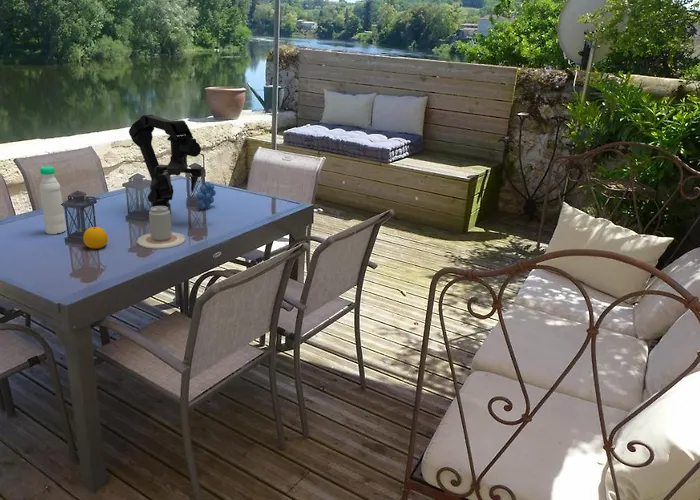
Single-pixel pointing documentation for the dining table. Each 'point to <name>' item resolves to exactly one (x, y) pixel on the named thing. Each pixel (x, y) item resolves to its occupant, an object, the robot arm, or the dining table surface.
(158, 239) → the can
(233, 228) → the dining table surface
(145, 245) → the saucer
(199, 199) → the grapes
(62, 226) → the milk bottle
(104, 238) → the orange
